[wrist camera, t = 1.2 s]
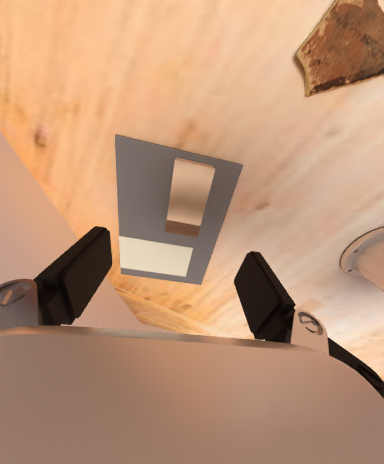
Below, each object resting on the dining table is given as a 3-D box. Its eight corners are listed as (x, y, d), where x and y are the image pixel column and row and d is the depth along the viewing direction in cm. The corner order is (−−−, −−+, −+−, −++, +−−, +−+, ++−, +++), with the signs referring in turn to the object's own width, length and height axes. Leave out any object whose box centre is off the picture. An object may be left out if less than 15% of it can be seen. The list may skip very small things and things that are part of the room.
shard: (391, 73, 17) (411, 66, 16) (329, 135, 21) (340, 134, 19) (347, -20, 14) (366, -41, 13) (281, 70, 17) (290, 62, 16)
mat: (241, 164, 22) (243, 165, 21) (200, 282, 34) (200, 285, 34) (116, 134, 20) (114, 134, 19) (122, 271, 32) (120, 274, 32)
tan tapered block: (177, 157, 21) (174, 159, 17) (211, 165, 21) (215, 169, 18) (168, 220, 26) (164, 231, 22) (196, 225, 26) (197, 237, 23)
